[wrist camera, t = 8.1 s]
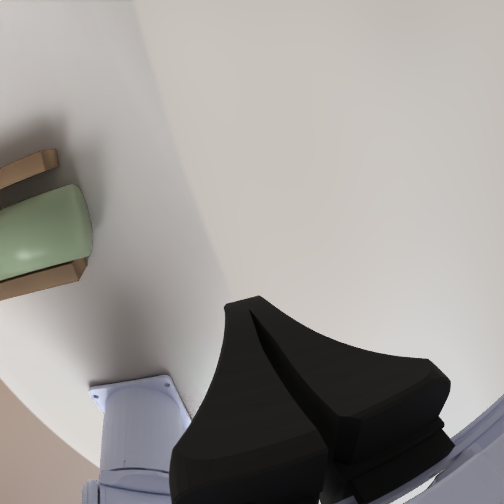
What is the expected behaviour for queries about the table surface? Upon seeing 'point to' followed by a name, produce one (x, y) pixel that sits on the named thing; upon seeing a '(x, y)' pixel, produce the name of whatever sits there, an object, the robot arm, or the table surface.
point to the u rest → (47, 275)
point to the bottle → (44, 231)
